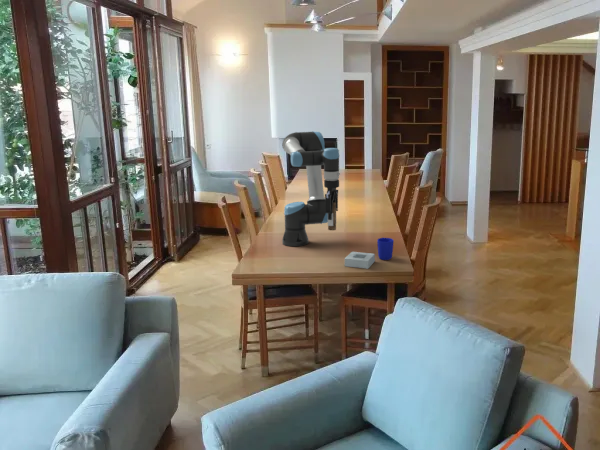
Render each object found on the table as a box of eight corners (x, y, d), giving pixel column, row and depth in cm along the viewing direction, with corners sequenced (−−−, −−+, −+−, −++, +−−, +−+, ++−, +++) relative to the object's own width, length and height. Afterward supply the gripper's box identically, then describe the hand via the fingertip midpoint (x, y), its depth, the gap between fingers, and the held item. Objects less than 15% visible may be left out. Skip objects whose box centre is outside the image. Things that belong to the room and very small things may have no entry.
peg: (327, 230, 263) (326, 203, 260) (329, 228, 267) (329, 201, 263) (334, 230, 262) (334, 203, 258) (337, 228, 265) (336, 202, 262)
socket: (344, 266, 255) (344, 258, 254) (352, 259, 266) (352, 251, 265) (368, 268, 250) (368, 260, 249) (374, 261, 261) (374, 253, 260)
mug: (389, 253, 273) (390, 235, 270) (394, 260, 261) (395, 241, 259) (374, 254, 273) (374, 236, 270) (378, 261, 261) (378, 242, 258)
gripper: (332, 182, 249) (333, 229, 255) (344, 177, 264) (344, 221, 270) (318, 181, 252) (319, 228, 257) (330, 176, 267) (330, 220, 272)
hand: (332, 224), depth 263 cm, fingers closed on peg, 4 cm apart
